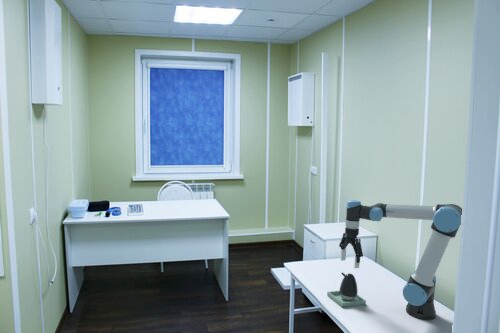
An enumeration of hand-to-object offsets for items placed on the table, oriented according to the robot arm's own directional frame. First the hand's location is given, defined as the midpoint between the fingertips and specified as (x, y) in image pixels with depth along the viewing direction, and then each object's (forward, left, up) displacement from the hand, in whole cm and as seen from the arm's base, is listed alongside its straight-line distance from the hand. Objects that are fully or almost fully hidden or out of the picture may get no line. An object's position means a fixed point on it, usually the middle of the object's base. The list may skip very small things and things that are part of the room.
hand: (349, 264), depth 230 cm
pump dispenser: (0, -1, -21) cm, 21 cm away
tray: (0, 0, -22) cm, 22 cm away
